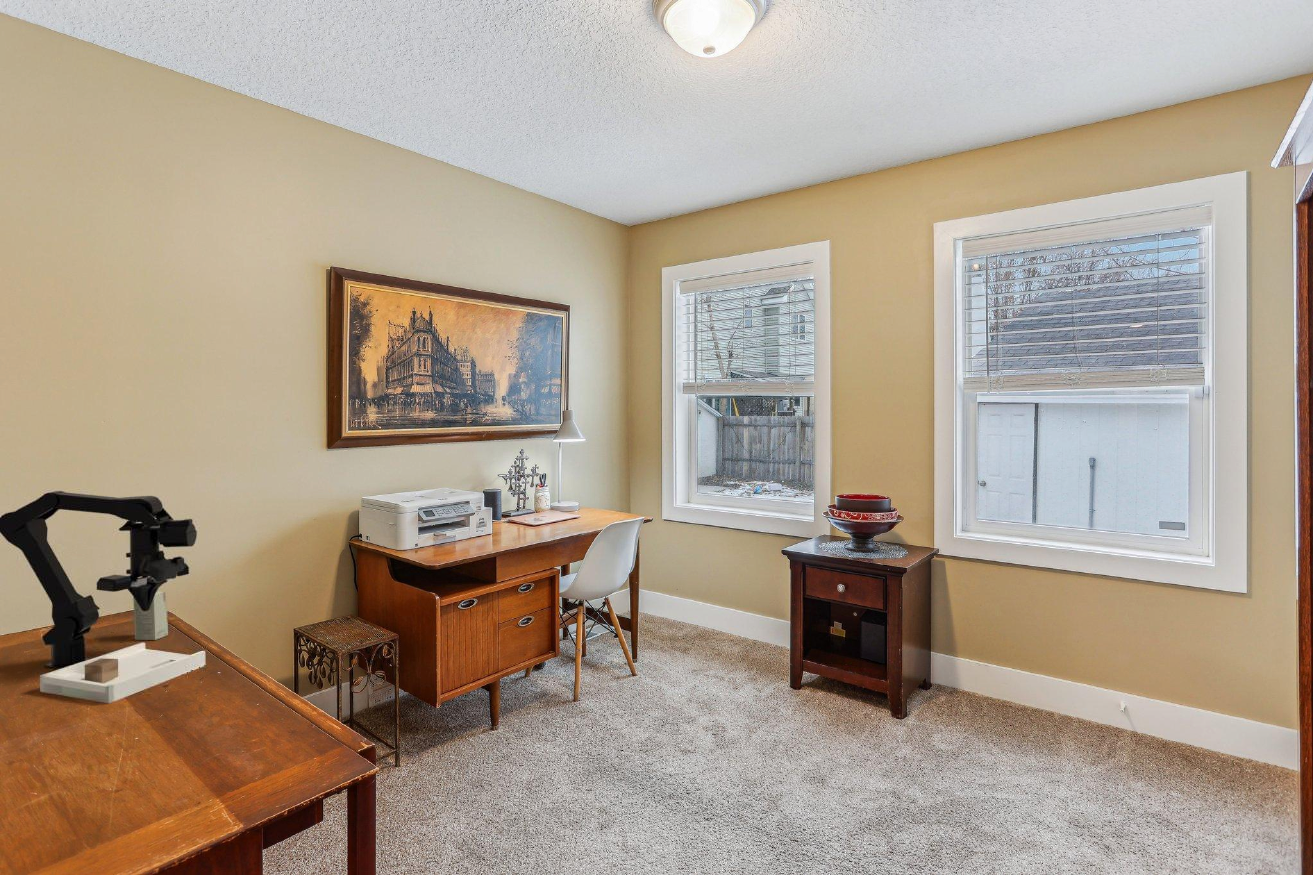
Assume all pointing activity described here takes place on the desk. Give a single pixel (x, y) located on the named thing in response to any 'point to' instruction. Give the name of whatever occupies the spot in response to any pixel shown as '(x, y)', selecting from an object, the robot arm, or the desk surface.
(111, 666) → the block
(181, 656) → the platform
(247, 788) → the desk surface
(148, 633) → the skincare box
